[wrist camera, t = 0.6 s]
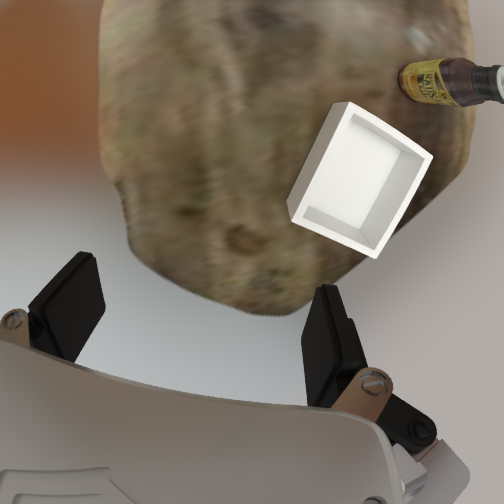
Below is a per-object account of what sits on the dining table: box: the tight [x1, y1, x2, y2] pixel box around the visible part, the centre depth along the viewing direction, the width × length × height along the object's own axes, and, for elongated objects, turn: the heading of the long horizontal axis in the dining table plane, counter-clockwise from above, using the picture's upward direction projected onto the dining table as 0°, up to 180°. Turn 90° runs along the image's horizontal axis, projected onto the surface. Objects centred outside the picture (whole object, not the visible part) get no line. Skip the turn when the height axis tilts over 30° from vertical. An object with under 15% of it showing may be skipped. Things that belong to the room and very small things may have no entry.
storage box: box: [286, 101, 433, 259], centre depth 35 cm, size 16×13×8 cm
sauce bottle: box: [399, 58, 504, 107], centre depth 22 cm, size 6×6×20 cm
